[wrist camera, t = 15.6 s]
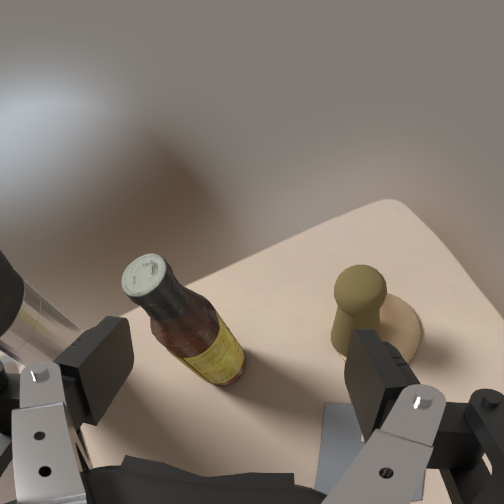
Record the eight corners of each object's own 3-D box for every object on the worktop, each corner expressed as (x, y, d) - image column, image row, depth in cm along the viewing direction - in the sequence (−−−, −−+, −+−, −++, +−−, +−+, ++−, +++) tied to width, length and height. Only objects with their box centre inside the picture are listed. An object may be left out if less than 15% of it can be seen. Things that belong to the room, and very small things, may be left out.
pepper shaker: (374, 310, 38) (384, 250, 30) (384, 353, 34) (400, 301, 26) (327, 318, 39) (324, 259, 31) (333, 362, 34) (334, 312, 27)
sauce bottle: (253, 346, 39) (201, 244, 24) (238, 393, 35) (168, 318, 20) (205, 336, 41) (133, 237, 26) (189, 380, 37) (98, 300, 22)
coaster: (331, 375, 34) (332, 373, 34) (335, 294, 41) (335, 292, 41) (422, 373, 32) (423, 372, 31) (415, 294, 38) (416, 291, 38)
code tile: (312, 503, 25) (312, 503, 25) (325, 403, 33) (325, 403, 32) (420, 499, 22) (421, 499, 22) (426, 401, 30) (427, 400, 29)
